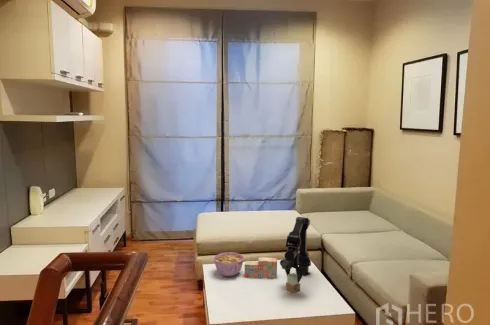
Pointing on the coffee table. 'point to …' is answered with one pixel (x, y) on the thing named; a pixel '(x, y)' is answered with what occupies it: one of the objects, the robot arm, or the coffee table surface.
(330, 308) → the coffee table surface
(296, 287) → the walnut base
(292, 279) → the sage cube
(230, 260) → the bowl of food
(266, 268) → the stack of blocks
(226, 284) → the coffee table surface
